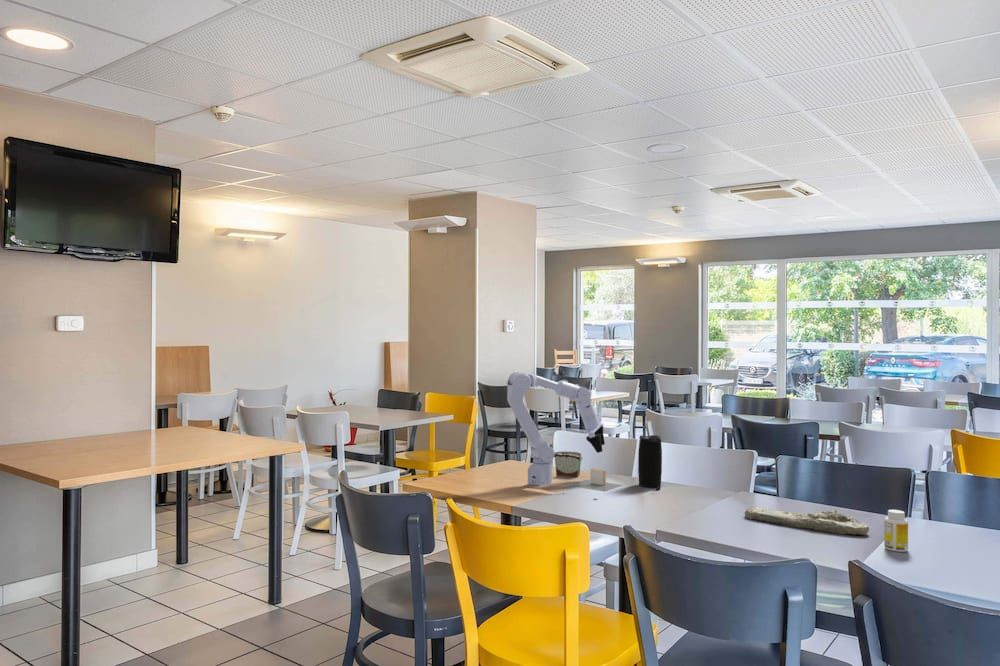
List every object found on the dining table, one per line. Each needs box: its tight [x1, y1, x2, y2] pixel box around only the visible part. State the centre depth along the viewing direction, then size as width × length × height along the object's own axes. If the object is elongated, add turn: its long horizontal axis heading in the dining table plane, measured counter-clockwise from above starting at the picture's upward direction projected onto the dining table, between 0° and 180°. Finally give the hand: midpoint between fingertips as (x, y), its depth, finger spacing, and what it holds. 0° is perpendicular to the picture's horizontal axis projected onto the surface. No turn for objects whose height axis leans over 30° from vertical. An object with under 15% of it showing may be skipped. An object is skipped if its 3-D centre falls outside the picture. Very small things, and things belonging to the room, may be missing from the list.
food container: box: [554, 450, 584, 478], centre depth 284 cm, size 12×6×10 cm, turn 58°
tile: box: [590, 468, 607, 486], centre depth 266 cm, size 2×6×6 cm, turn 53°
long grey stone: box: [744, 506, 870, 536], centre depth 214 cm, size 35×5×10 cm
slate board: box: [566, 479, 624, 492], centre depth 264 cm, size 14×16×1 cm
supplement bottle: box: [883, 509, 909, 553], centre depth 190 cm, size 6×6×10 cm
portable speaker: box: [637, 434, 663, 492], centre depth 264 cm, size 9×9×20 cm
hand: (601, 448), depth 275 cm, fingers open, 7 cm apart
